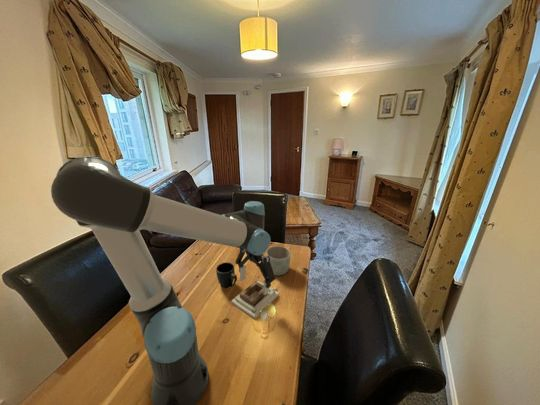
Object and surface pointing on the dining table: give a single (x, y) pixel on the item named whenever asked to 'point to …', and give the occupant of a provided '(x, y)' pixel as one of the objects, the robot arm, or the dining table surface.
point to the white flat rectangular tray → (261, 305)
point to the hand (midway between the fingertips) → (254, 285)
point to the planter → (279, 259)
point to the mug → (226, 275)
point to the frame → (250, 290)
